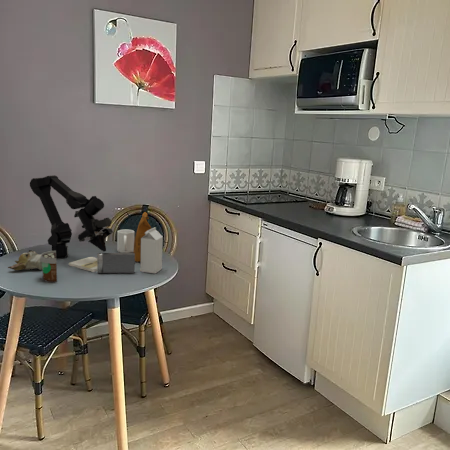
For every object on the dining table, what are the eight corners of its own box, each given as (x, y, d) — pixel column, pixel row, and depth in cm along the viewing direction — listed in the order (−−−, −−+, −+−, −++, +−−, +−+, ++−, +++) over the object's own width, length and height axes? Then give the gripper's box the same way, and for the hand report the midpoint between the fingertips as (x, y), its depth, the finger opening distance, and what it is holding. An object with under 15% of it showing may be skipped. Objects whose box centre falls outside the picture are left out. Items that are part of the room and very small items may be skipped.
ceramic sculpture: (44, 252, 188) (5, 254, 186) (45, 272, 190) (8, 274, 188) (50, 246, 198) (13, 247, 196) (51, 265, 200) (16, 267, 198)
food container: (40, 274, 188) (39, 250, 186) (56, 273, 190) (55, 250, 188) (40, 284, 177) (39, 259, 175) (56, 283, 179) (56, 258, 177)
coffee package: (154, 255, 224) (155, 211, 220) (154, 262, 212) (155, 216, 208) (133, 255, 223) (134, 211, 218) (132, 262, 211) (133, 216, 206)
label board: (68, 265, 201) (68, 261, 201) (90, 259, 213) (90, 255, 212) (93, 272, 194) (93, 268, 194) (114, 265, 205) (115, 261, 205)
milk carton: (161, 269, 203) (163, 227, 199) (155, 274, 196) (156, 231, 193) (147, 267, 205) (148, 226, 201) (140, 271, 198) (140, 229, 194)
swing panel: (97, 273, 192) (97, 254, 190) (97, 270, 195) (97, 252, 193) (134, 272, 195) (134, 254, 193) (134, 270, 198) (134, 252, 196)
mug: (133, 255, 222) (133, 235, 220) (115, 255, 221) (115, 234, 219) (134, 249, 234) (134, 229, 232) (118, 248, 233) (118, 229, 230)
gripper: (89, 211, 190) (106, 243, 188) (113, 210, 208) (129, 240, 206) (70, 225, 193) (87, 256, 191) (95, 223, 211) (111, 252, 209)
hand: (105, 251), depth 199 cm, fingers closed
